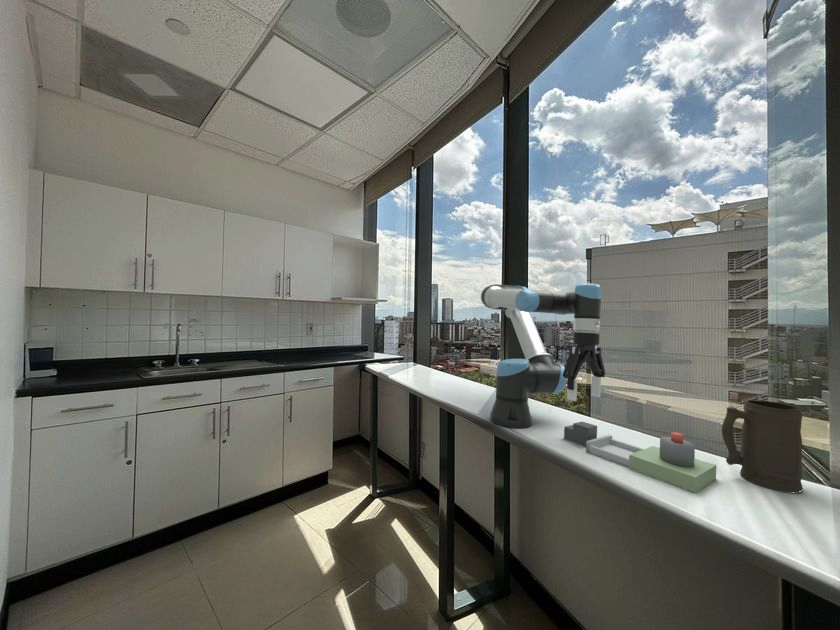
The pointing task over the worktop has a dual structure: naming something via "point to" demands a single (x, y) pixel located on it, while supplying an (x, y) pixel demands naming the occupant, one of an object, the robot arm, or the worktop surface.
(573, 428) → the squat charcoal block
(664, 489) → the worktop surface
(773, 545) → the worktop surface
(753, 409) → the beer stein
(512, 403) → the robot arm
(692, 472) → the green slab with knob
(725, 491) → the worktop surface
